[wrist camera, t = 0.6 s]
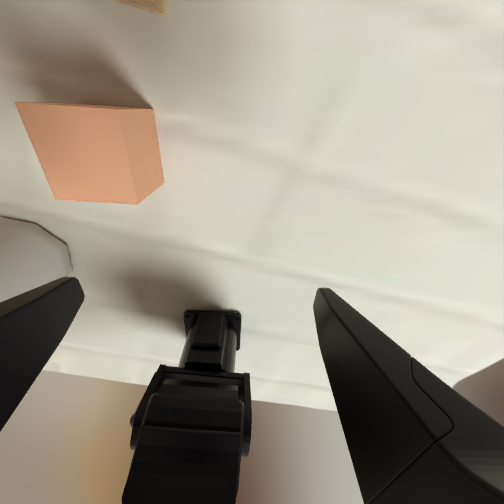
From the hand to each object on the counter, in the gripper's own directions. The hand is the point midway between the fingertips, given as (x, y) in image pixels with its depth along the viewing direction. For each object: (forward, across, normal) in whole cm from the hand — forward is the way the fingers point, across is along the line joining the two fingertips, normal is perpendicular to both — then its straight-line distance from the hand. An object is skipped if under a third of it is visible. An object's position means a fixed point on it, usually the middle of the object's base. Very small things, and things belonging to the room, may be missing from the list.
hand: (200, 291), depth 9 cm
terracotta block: (+12, +8, -3) cm, 15 cm away
